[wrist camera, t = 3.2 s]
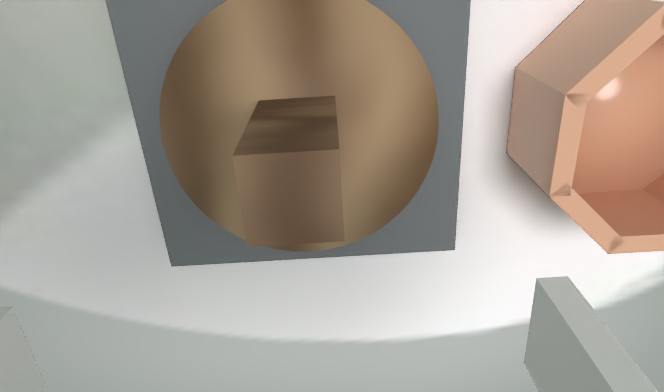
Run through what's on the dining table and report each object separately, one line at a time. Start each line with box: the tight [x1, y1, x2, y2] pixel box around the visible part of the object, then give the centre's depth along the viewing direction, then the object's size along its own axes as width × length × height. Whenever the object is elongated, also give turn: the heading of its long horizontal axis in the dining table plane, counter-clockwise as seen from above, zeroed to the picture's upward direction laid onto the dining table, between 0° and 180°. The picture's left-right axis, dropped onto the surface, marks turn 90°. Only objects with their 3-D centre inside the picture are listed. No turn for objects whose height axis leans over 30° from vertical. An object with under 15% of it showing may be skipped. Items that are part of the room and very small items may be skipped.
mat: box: [106, 0, 471, 266], centre depth 27 cm, size 18×17×1 cm
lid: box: [159, 0, 439, 252], centre depth 23 cm, size 15×15×9 cm
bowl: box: [506, 0, 664, 254], centre depth 24 cm, size 12×12×6 cm
